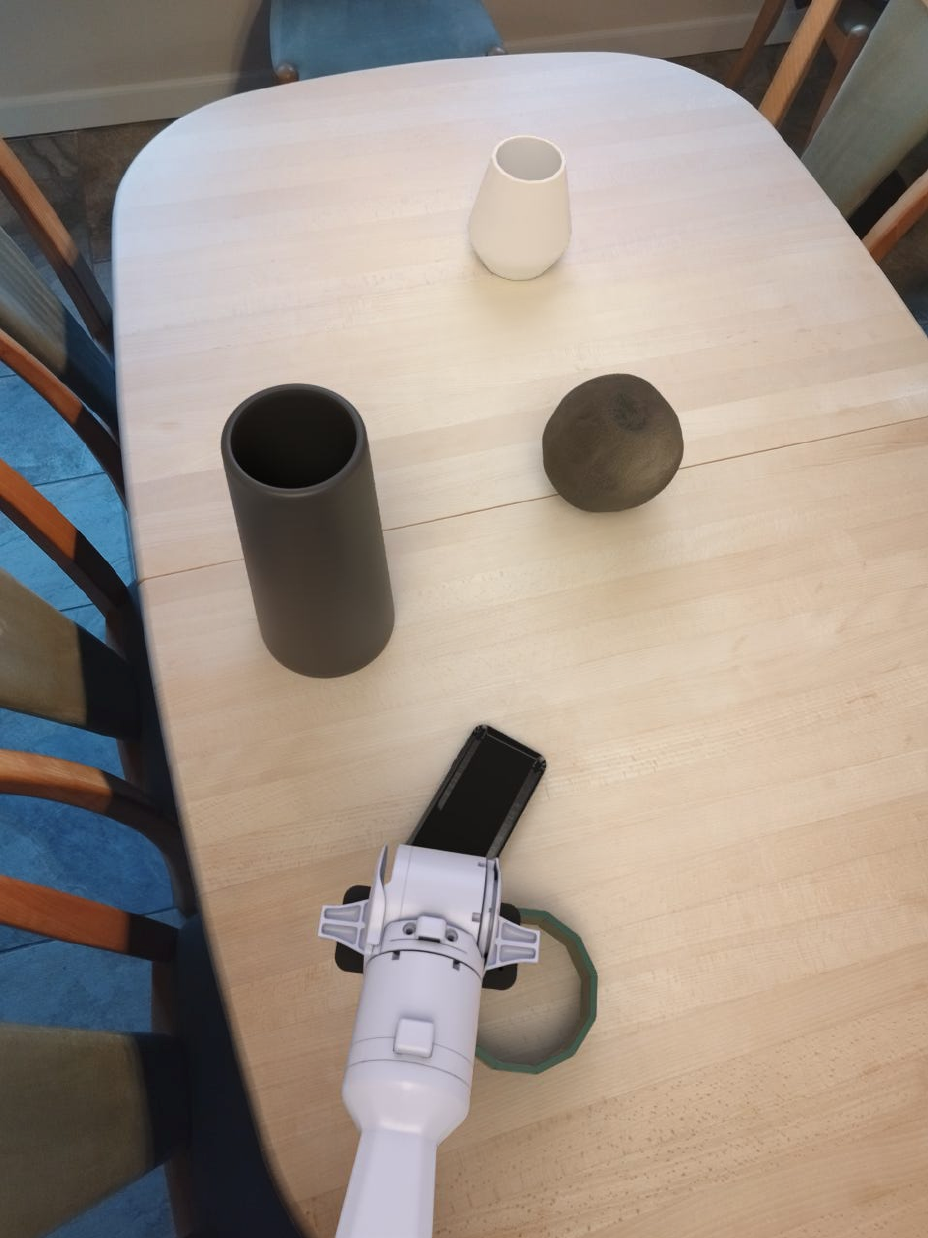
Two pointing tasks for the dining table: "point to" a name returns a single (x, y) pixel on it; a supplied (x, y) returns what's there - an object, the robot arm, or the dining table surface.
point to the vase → (309, 528)
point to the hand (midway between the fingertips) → (427, 945)
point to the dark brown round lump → (612, 444)
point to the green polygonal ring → (586, 995)
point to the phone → (480, 796)
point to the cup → (522, 209)
